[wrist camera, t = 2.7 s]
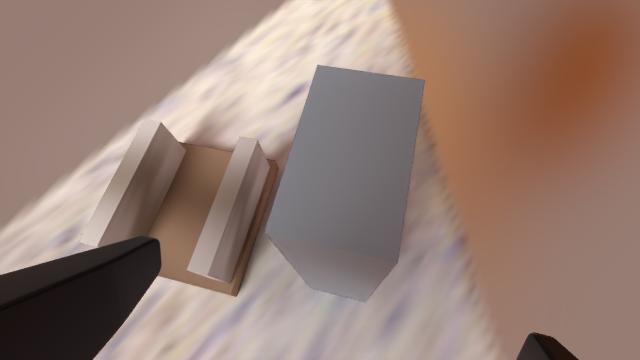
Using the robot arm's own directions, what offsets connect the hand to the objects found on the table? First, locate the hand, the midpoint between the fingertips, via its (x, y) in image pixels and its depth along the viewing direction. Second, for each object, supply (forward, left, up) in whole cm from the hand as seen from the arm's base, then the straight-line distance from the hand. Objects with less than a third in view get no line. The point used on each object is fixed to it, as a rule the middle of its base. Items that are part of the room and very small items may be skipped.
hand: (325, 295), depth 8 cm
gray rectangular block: (+3, 0, -10) cm, 11 cm away
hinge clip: (+4, +9, -10) cm, 14 cm away
